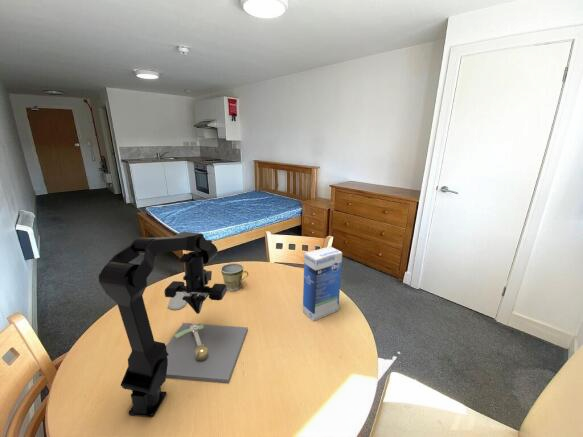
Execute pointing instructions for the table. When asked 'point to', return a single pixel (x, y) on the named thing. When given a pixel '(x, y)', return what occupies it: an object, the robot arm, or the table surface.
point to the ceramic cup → (233, 275)
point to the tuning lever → (198, 344)
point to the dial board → (221, 352)
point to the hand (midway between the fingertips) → (198, 312)
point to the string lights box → (321, 282)
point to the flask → (177, 302)
